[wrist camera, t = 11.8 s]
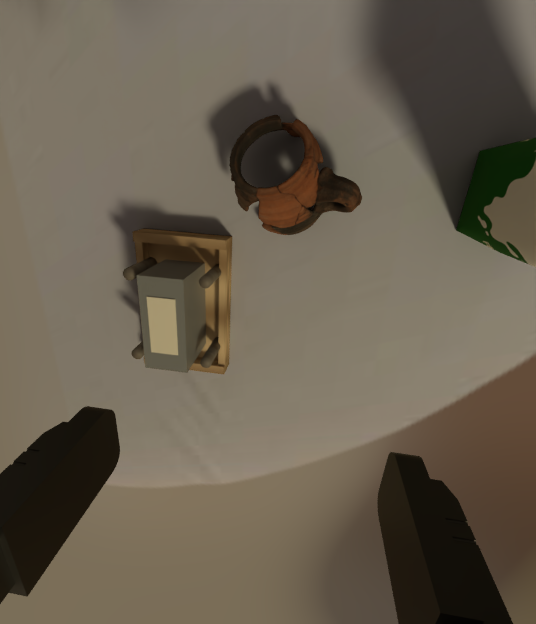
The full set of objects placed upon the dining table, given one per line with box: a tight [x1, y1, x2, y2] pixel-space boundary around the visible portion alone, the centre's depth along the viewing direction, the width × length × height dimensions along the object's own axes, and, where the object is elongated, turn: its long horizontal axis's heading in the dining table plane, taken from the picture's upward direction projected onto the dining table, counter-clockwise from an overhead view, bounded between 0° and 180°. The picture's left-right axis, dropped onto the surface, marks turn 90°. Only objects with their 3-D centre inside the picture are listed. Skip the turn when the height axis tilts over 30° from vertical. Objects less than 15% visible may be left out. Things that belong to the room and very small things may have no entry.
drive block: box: [137, 259, 206, 373], centre depth 35 cm, size 10×4×7 cm, turn 177°
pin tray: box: [123, 228, 232, 374], centre depth 36 cm, size 16×10×6 cm, turn 176°
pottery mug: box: [230, 115, 362, 235], centre depth 30 cm, size 12×10×8 cm
